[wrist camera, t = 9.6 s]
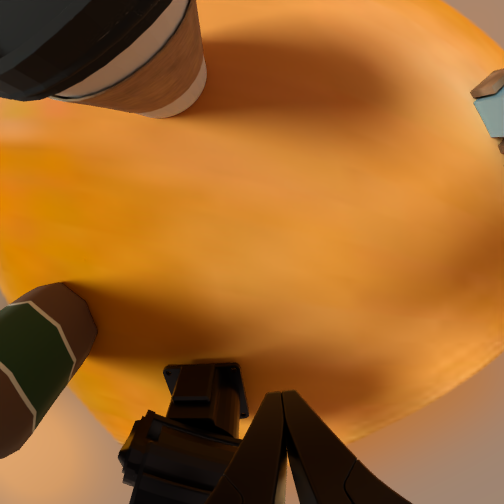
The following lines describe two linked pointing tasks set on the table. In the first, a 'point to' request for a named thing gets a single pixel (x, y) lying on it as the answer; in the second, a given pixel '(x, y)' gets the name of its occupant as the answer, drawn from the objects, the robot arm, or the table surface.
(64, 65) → the coffee cup
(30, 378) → the beer bottle
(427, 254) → the table surface
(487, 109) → the pale blue tall block
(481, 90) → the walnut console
